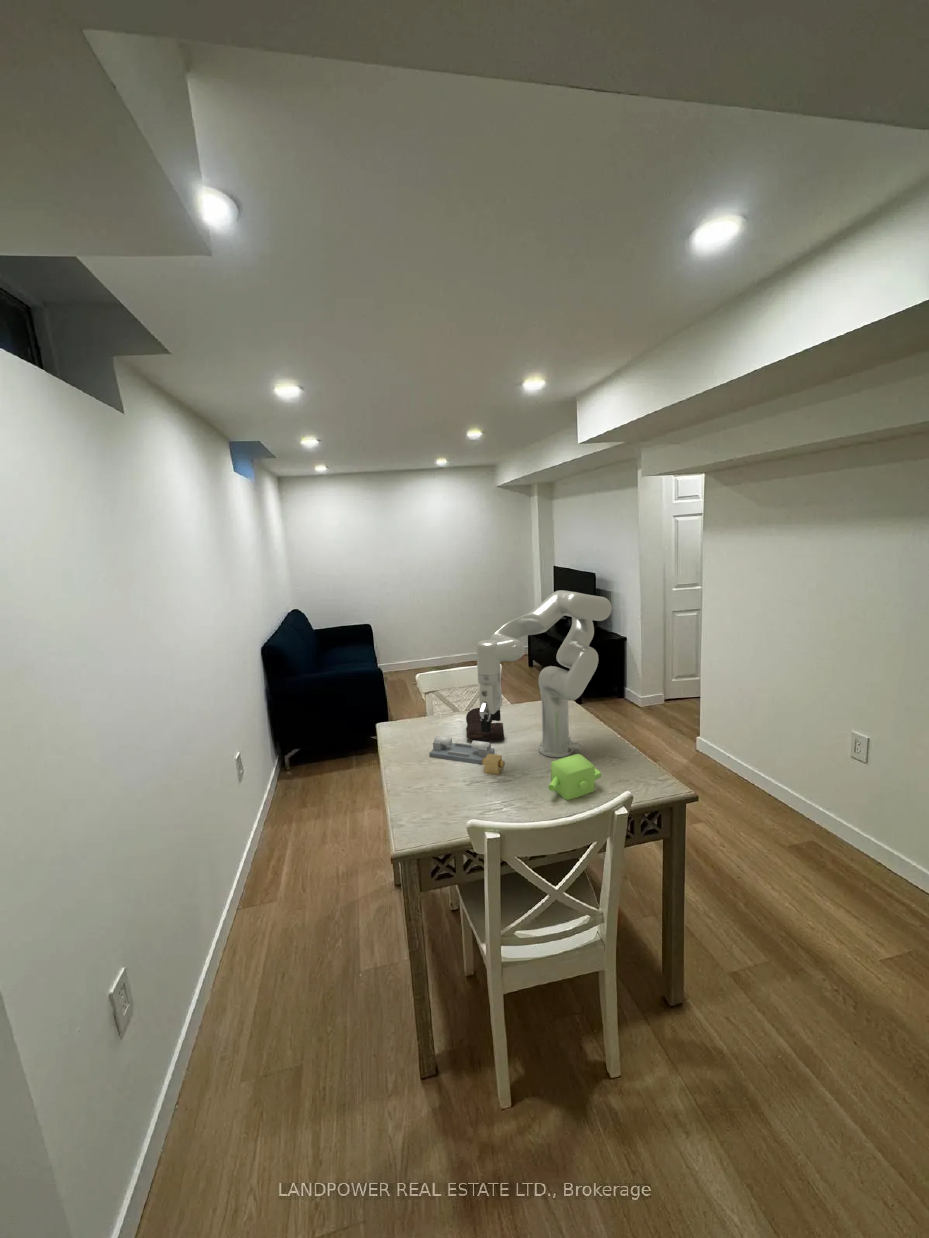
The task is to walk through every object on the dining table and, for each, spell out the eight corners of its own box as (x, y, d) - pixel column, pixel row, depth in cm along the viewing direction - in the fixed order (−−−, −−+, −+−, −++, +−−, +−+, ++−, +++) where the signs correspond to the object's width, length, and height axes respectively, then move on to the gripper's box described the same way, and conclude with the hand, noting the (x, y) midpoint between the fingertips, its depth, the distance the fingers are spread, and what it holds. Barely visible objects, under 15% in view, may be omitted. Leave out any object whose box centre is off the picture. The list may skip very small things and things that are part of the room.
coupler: (505, 769, 169) (505, 755, 168) (501, 775, 165) (501, 761, 164) (485, 766, 172) (485, 753, 171) (481, 772, 167) (480, 758, 167)
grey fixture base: (494, 752, 181) (494, 737, 180) (485, 764, 172) (484, 749, 171) (440, 745, 190) (440, 730, 189) (429, 756, 181) (428, 741, 180)
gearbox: (556, 808, 145) (556, 780, 143) (539, 791, 154) (538, 764, 152) (606, 792, 152) (606, 764, 149) (586, 776, 161) (586, 750, 158)
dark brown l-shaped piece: (502, 726, 186) (501, 705, 200) (463, 729, 187) (464, 708, 201) (505, 747, 190) (503, 725, 204) (466, 750, 191) (467, 728, 205)
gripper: (491, 686, 153) (493, 738, 156) (508, 670, 168) (509, 717, 171) (468, 684, 155) (471, 735, 159) (487, 669, 171) (489, 715, 174)
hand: (491, 725), depth 165 cm, fingers open, 9 cm apart
